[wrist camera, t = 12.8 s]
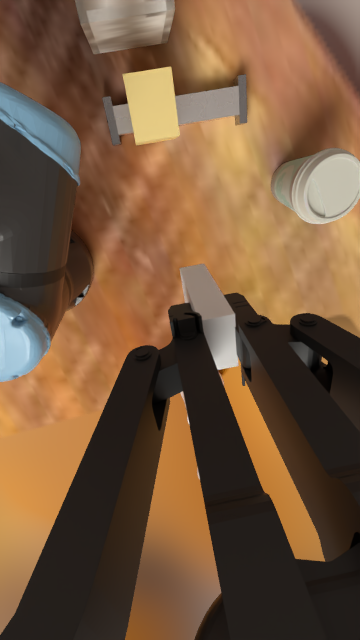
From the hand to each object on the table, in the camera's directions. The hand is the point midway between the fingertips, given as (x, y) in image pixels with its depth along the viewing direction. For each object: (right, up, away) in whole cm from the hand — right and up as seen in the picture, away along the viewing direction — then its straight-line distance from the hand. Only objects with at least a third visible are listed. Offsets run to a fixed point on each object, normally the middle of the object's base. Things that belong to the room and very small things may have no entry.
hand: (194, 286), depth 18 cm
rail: (-1, +26, +21) cm, 33 cm away
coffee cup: (+16, +19, +27) cm, 37 cm away
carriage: (-5, +25, +21) cm, 33 cm away
